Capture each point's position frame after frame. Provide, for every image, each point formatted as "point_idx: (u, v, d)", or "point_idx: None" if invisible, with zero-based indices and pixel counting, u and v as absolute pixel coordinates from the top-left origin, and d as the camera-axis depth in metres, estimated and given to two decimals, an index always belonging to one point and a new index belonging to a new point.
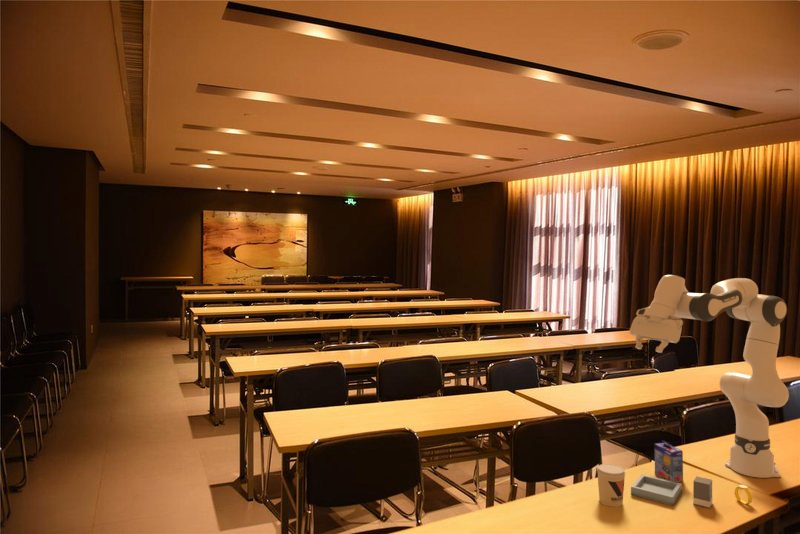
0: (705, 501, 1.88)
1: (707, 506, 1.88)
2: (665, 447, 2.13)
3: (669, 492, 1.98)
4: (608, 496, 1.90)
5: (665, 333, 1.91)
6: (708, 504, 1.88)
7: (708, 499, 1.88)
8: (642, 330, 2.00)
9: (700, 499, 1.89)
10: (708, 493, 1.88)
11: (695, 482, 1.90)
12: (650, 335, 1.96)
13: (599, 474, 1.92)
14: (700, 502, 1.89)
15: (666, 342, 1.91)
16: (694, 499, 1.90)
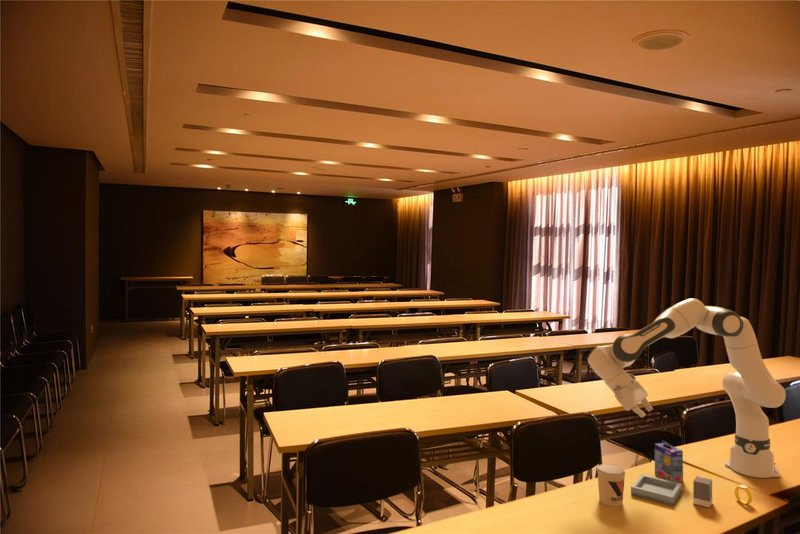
0: (705, 501, 1.88)
1: (707, 506, 1.88)
2: (665, 447, 2.13)
3: (669, 492, 1.98)
4: (608, 496, 1.90)
5: None
6: (708, 504, 1.88)
7: (708, 499, 1.88)
8: None
9: (700, 499, 1.89)
10: (708, 493, 1.88)
11: (695, 482, 1.90)
12: None
13: (599, 474, 1.92)
14: (700, 502, 1.89)
15: (635, 408, 2.00)
16: (694, 499, 1.90)
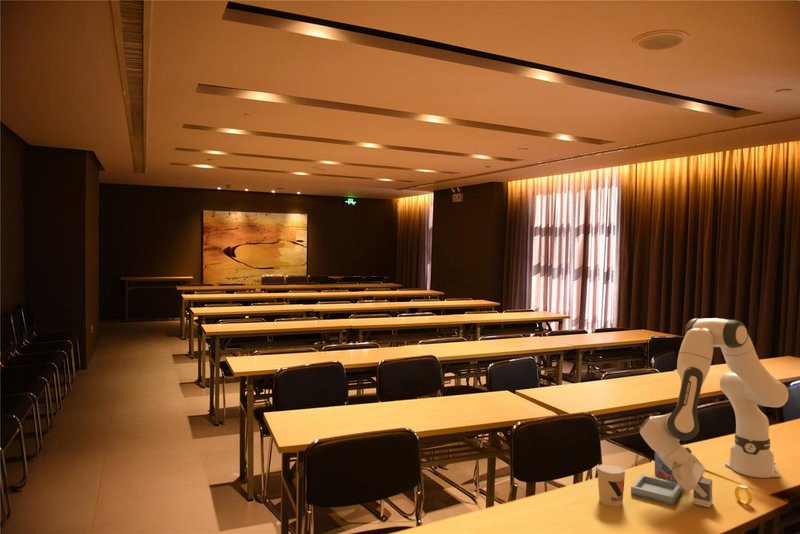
0: (705, 501, 1.88)
1: (707, 506, 1.88)
2: None
3: (669, 492, 1.98)
4: (608, 496, 1.90)
5: None
6: (708, 504, 1.88)
7: (708, 499, 1.88)
8: None
9: (700, 499, 1.89)
10: (708, 493, 1.88)
11: None
12: None
13: (599, 474, 1.92)
14: (700, 502, 1.89)
15: (696, 487, 1.88)
16: (694, 499, 1.90)
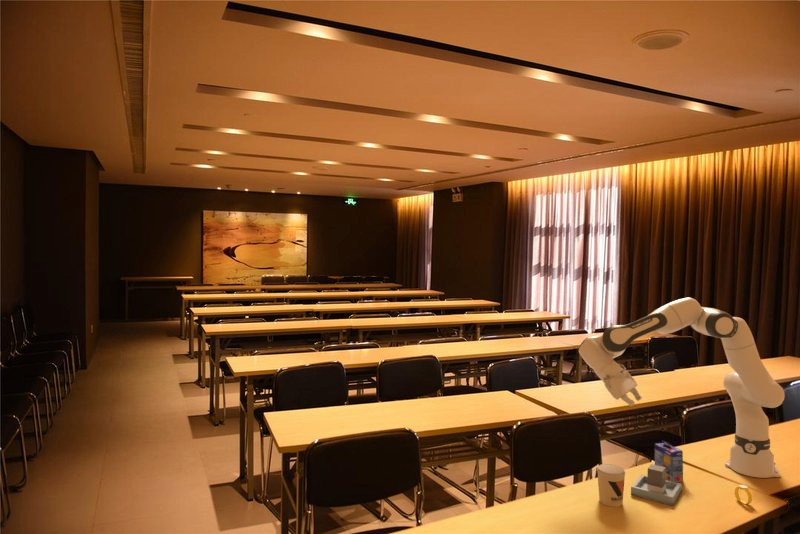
0: (658, 487, 1.97)
1: (660, 492, 1.97)
2: (665, 447, 2.13)
3: (669, 492, 1.98)
4: (608, 496, 1.90)
5: None
6: (661, 490, 1.96)
7: (661, 485, 1.96)
8: None
9: (653, 486, 1.98)
10: (661, 480, 1.96)
11: (649, 469, 1.99)
12: None
13: (599, 474, 1.92)
14: (653, 489, 1.98)
15: (624, 397, 2.04)
16: (648, 486, 1.99)
